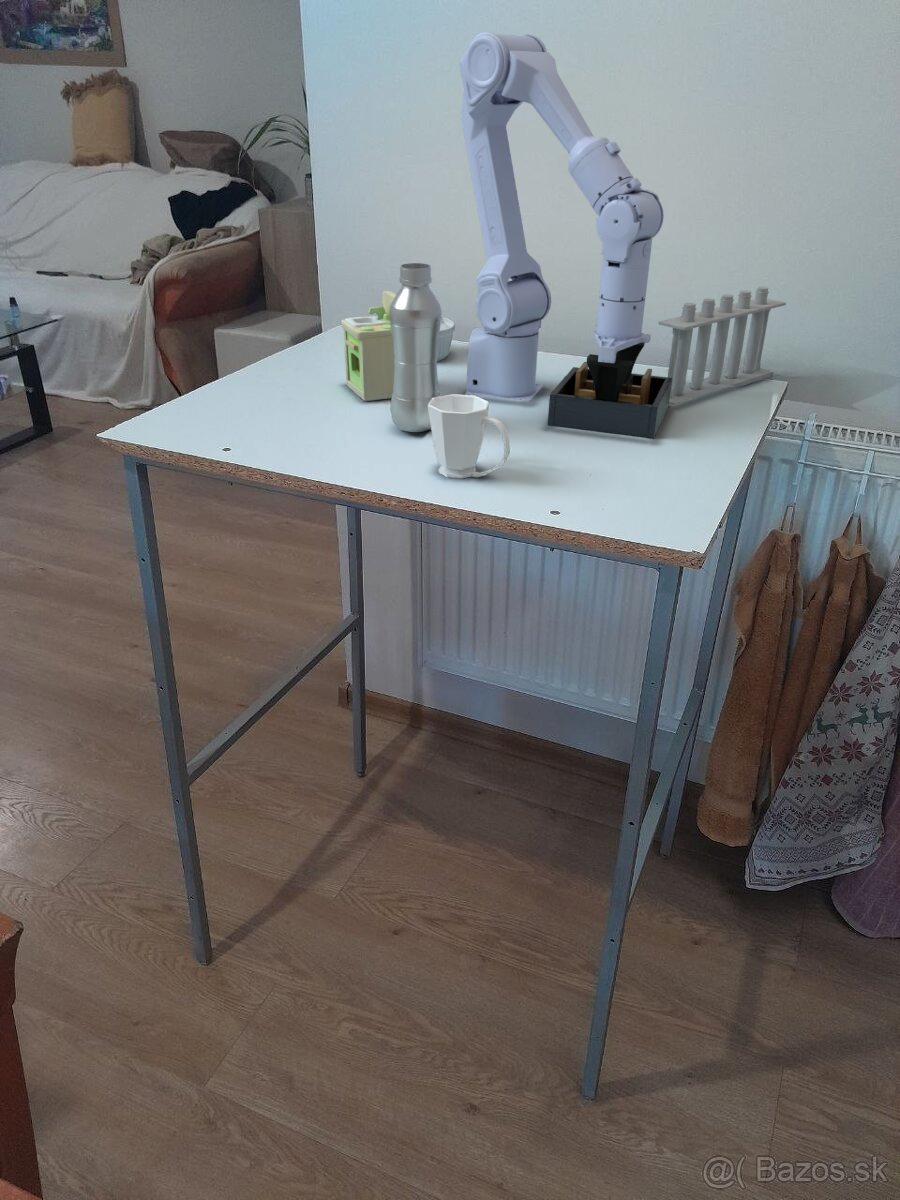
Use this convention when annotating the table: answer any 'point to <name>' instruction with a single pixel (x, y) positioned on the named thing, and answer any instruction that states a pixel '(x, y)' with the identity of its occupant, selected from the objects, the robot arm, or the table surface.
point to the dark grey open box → (609, 409)
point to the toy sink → (370, 352)
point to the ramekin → (445, 337)
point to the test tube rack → (719, 344)
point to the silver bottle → (414, 348)
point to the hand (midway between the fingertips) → (611, 403)
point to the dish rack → (628, 388)
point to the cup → (461, 433)
